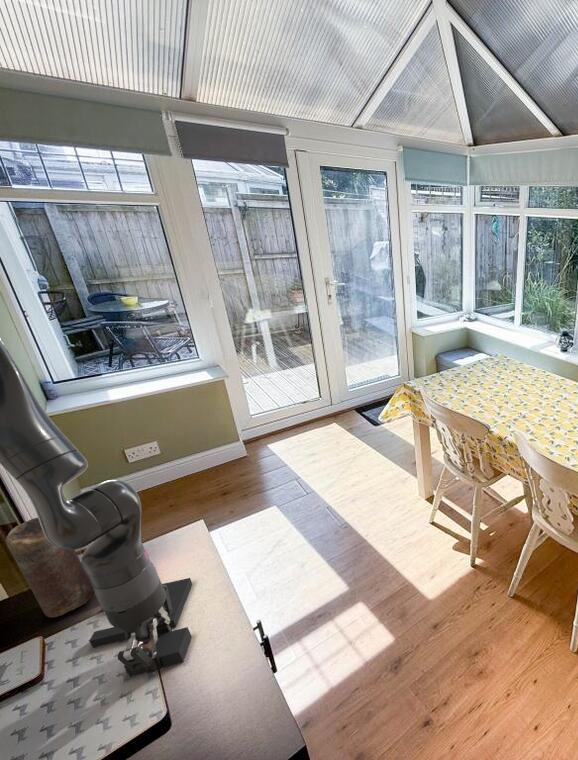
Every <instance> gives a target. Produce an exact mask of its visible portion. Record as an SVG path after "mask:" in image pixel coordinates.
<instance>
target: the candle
mask: <svg viewBox="0 0 578 760" xmlns="http://www.w3.org/2000/svg"><path fill="white" fill-rule="evenodd" d="M5 543H6V546H7V548H8V550H9V552H10V553H11V555H12V557H13V559H14V560H15V562H16V564H17V566H18V567H19V570H20V571H21V573H22V575H23V577H24V579H25V580H26V582H27V584H28V586H29V588H30V590H31V592H32V594H33V596H34V598H35V599H36V601H37V603H38V605H39V607H40V609H41V611H42V612H43V614H44V615H45V616H46V617H47V618H58V617H60V616H63V615H65V614H66V613H68V612H71V611H74V610H76V609H78V608H80V607H82V606H83V605H85V604H86V603H87V602H88V601H89V600H90V599H91V596H92V595H93V593H94V588H93V585H92V583H91V581H90V579H89V577H88V575H87V573H86V572H85V570H84V568H83V566H82V563H81V559H80V557H79V555H78V553H77V550H65V549H61V548H58V547H56V546H54V545H53V544H51V543H50V542H49V541H48V540H47V538H46V537H45V535H44V533H43V530H42V528H41V525H40V522H39V519H38V517H34V518H31V519H29V520H26V521H24V522H23V523H20V524H18V525H16V526H15V527H14V528H12V529H11V530H10V531H9V532H8V534H7V535H6V537H5Z"/></svg>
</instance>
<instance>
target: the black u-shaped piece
mask: <svg viewBox="0 0 578 760" xmlns="http://www.w3.org/2000/svg"><path fill="white" fill-rule="evenodd" d="M163 585H167V588H168V593H169V597H170V601H171V605H172V613H171V614H168V617H169V618H170V623H169V626H170V628H171V629H174V628H177V626H178V623H179V621H180V619H181V615H182V613H183V610H184V608H185V605H186V602H187V600H188V597H189V594H190V592H191V589H192V587H193V581H192V580H191V577H187V578H181V579H178V580H173V581H169V582H164V583H162V586H163ZM162 607H163V608H165V605H163V606H162ZM123 641H127V640H126V638H125V632H124V630H122V629H119V628H116V627H113V626H112V627H108V628H104V629H100V630H95V631H94V632H93V633H92V635H91V637H90V639H89V641H88V642H89V644H90V645H91V647H92V648H93V649H96V648H99V647H103V646H107V645H111V644H115V643H119V642H123Z"/></svg>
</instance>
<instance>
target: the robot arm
mask: <svg viewBox="0 0 578 760" xmlns="http://www.w3.org/2000/svg"><path fill="white" fill-rule="evenodd" d="M0 465H1V466H2V468H3V469H5V471H6V472H7V473H8V474H9V475H10V476H11V477H12V478H13V479H14V480H15V481H16V482H17V483H18V484H19V485H20V487H21V488H22V489H23V490H24V492H25V494H26V495H27V497H28V499H29V501H30V502H31V504H32V507H33V509H34V511H35V513H36V516H37V518H38V519H39V522H40V525H41V528H42V530H43V533H44V535H45V537H46V538H47V540H48V541H49V542H50V543H51V544H53V545H54V546H56V547H58V548H61V549H65V550H75V551H77V550H80V549H82V548H85V547H87V546H88V547H87V548H86V549H85V550H84V551H83V553H82V555H81V559H80V561H81V563H82V566H83V568H84V570H85V572H86V573H87V575H88V577H89V579H90V582H91V584H92V586H93V588H94V590H93V593H94V595H95V598H96V600H97V602H98V603H99V605H100V607H101V609H102V611H103V613H104V615H105V616H106V619H107V621H108V622H109V624H110V625H111V626H112V627H116V628H119V629H122V630H124V632H125V638H126V640H125V641H126V642H127V643H126V646H125V649H124V650H119V651H118V653H117V660H118V661H119V662H121V663H122V664H123V665H124V666H126V667H127V668H129V669H130V670H131V671H133V670H136V669H139V668H143V667H144V669H145V671H146V673H145V674H151V673H154V672H155V673H156V672H158V671H160V670H162V669H163V668H162V666H163V664H162V661H161V659H160V657H159V655H158V653H157V651H156V645H155V644H156V642H157V641H158V636H157V635H158V634H162V633H166V632H170V631H173V630H172V628H170V626H169V623H170V618H169V617H168V614H171V613H172V605H171V601H170V597H169V593H168V588H167V585H163V586H162V584H163V583H162V581H161V578H160V576H159V574H158V572H157V569H156V567H155V565H154V564H153V562H152V561H151V560H150V557H149V558H148V556H147V553H148V552H147V550H146V548H145V546H144V544H143V542H142V502H141V499H140V496H139V493H138V492H137V491H136V488H134V487H133V486H132V485H131V484H129V483H128V482H126V481H123V480H119V479H110V480H105V481H102V482H100V483H98V484H96V485H94V486H92V487H91V488H90V487H89V489H87V490H84V491H82V492H81V493H79V494H77V495H75V496H73V497H71V498H69V499H67V500H66V499H65V496H64V493H63V492H64V488H65V487H66V486H67V485H68V484H70V483H72V481H74V480H76V479H77V478H78V477H79V476H81V475H82V474H83V473H85V472H86V470H88V468H89V462H88V460H87V458H86V457H85V456H84V455H83V454H82V452H81V451H80V450H79V449H78V448H77V447H76V446H75V445H74V444H73V442H71V440H70V439H69V438H68V437H67V436H66V435H65V434H64V432H63V431H61V429H60V428H59V427H58V426H57V425H56V424H55V423H54V421H53V419H51V417H49V415H48V414H47V413H46V411H45V409H44V408H43V407H42V405H41V404H40V402H39V401H38V399H37V397H36V396H35V394H34V392H33V390H32V389H31V387H30V386H29V384H28V383H27V381H26V378H25V377H24V375H23V373H22V372H21V370H20V368H19V367H18V365H17V363H16V361H15V360H14V358H13V357H12V355H11V354H10V352H9V351H8V349H7V347H6V345H5V344H4V342H3V340H2V338H0ZM145 550H146V551H145ZM146 552H147V553H146ZM163 605H165V608H163V607H162V606H163ZM149 638H150V640H146V639H149ZM142 640H146V641H142ZM138 641H142V642H138ZM145 648H148V649H149V652H146V653H145V652H144V651H143V650H142V649H145Z"/></svg>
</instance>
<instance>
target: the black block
mask: <svg viewBox="0 0 578 760" xmlns="http://www.w3.org/2000/svg"><path fill="white" fill-rule="evenodd" d="M157 636H158V641H157V642H156V644H155V645H156V651H157V653H158V655H159V657H160V659H161V661H162V664H163V666H162V668H161V669H164V668H168V667H172V666H175V665H179V664H182V663H184V662H185V659H186V656H187V653H188V651H189V650H188V649H189V648H190V645H191V642H192V638H193V635H192V633H191V632H190V629H189V627H188V626H186V627H181V628H177V629H173V630H172V631H170V632H166V633H162V634H158V635H157ZM146 640H150V638H149V639H146ZM146 640H142V641H146ZM142 641H138V642H142ZM142 650H143V651H144V652H145V653H146V652H149V649H148V648H145V649H142ZM123 668H124V669H125V671H126V673H127V675H128V678H132V677H135V676H139V675H143V674H147V673H146V671H145V669H144V667H143V668H139V669H136V670H133V671H131V670H130V669H129V668H127V667H126V666H125V665H124V666H123Z"/></svg>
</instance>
